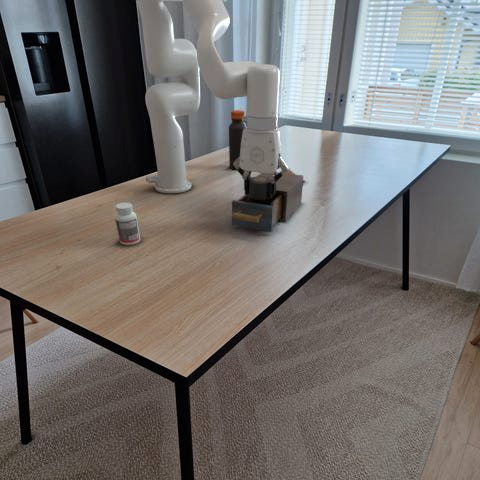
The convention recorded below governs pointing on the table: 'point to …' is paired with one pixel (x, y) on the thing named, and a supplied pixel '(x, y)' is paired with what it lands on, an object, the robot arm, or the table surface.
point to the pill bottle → (127, 224)
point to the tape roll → (258, 188)
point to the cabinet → (289, 192)
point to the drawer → (257, 212)
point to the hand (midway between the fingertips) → (259, 194)
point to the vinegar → (235, 136)
